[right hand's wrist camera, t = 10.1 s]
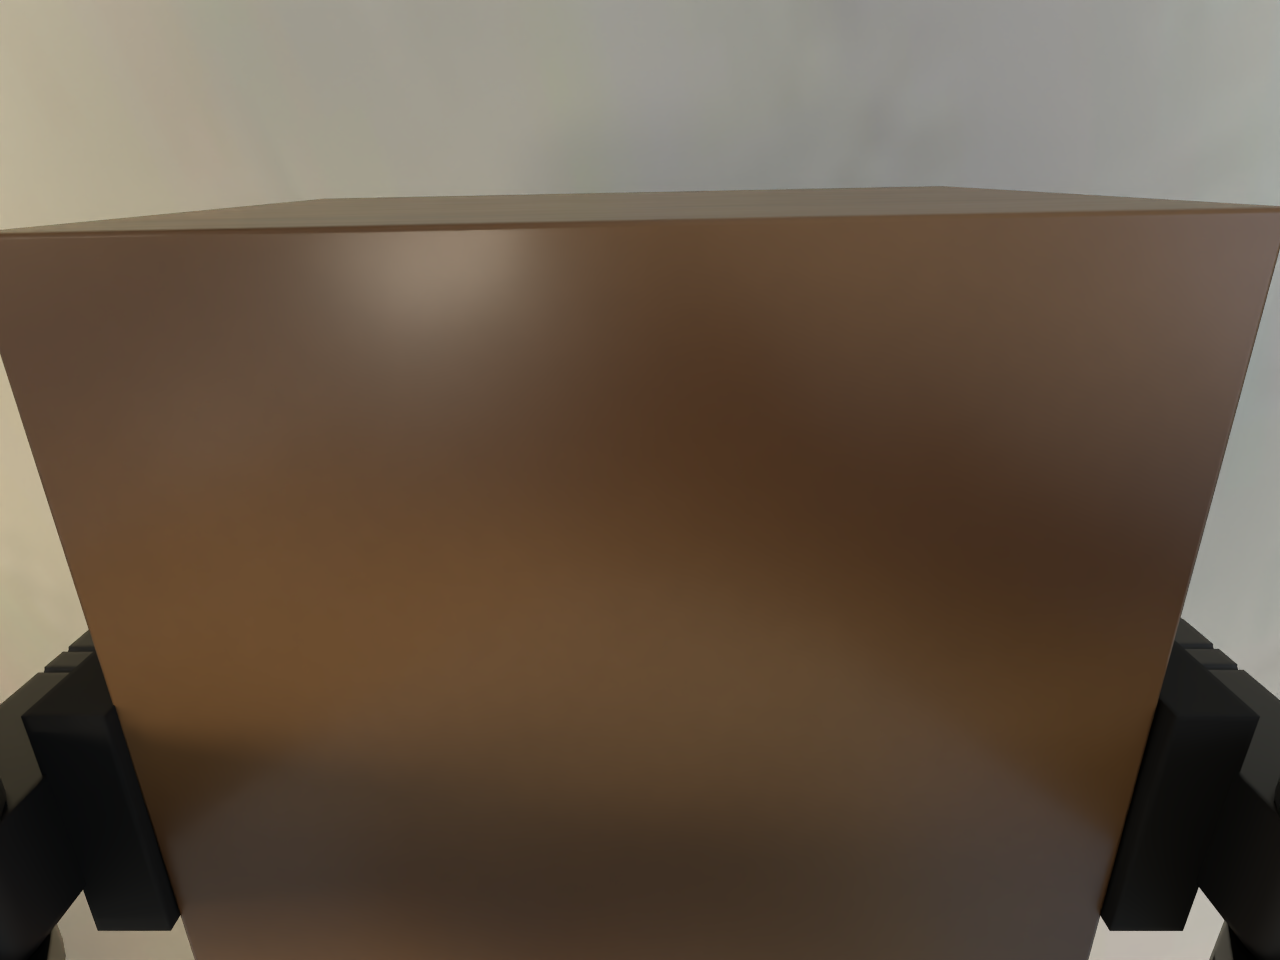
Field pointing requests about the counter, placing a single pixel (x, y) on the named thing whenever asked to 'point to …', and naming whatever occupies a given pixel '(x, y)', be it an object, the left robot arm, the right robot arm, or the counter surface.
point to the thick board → (637, 555)
